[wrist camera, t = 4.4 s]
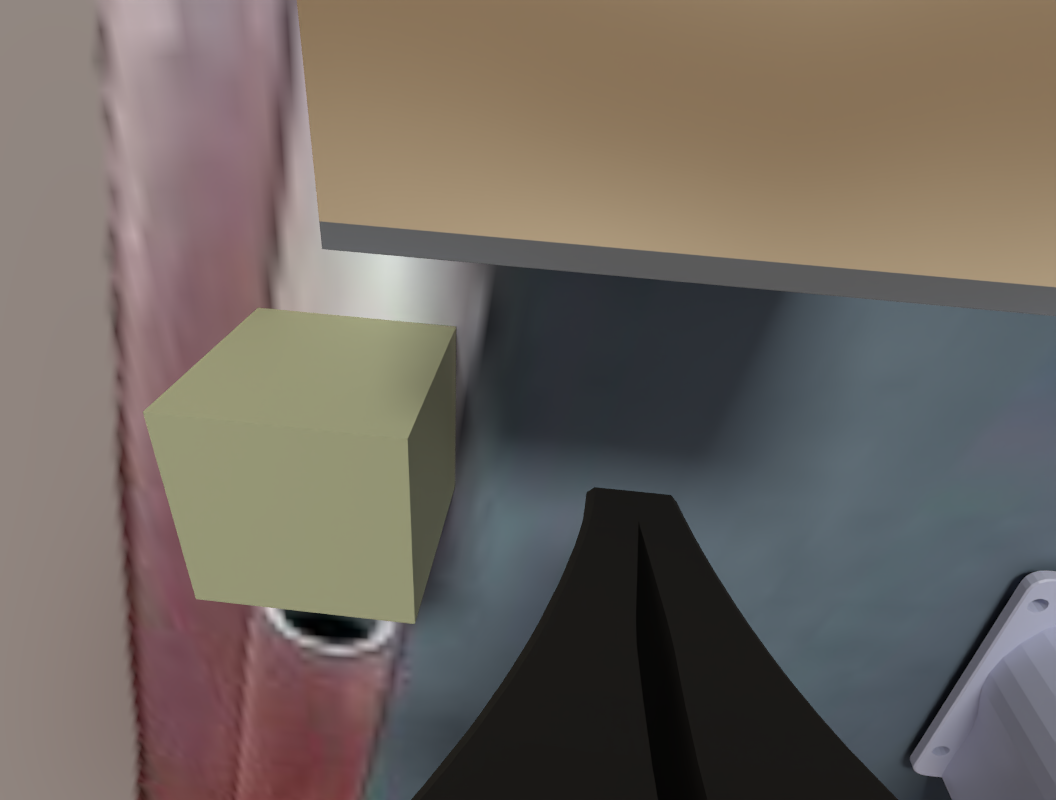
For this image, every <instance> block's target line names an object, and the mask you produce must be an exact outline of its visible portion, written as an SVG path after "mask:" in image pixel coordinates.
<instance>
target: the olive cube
mask: <svg viewBox="0 0 1056 800" xmlns="http://www.w3.org/2000/svg"><path fill="white" fill-rule="evenodd" d="M143 414H144V417H145V421H146V424H147V428H148V431H149V435H150V439H151V442H152V446H153V449H154V453H155V456H156V460H157V463H158V467H159V470H160V474H161V477H162V481H163V484H164V488H165V491H166V495H167V498H168V502H169V505H170V509H171V513H172V516H173V520H174V523H175V527H176V530H177V534H178V537H179V541H180V544H181V548H182V551H183V555H184V558H185V562H186V565H187V569H188V572H189V576H190V579H191V583H192V587H193V590H194V594H195V597H196V599H201V600H210V601H218V602H227V603H236V604H245V605H253V606H262V607H271V608H280V609H288V610H297V611H306V612H315V613H323V614H332V615H341V616H350V617H358V618H367V619H376V620H385V621H393V622H402V623H411V624H415V622H416V618H417V615H418V612H419V608H420V605H421V601H422V598H423V594H424V591H425V588H426V584H427V581H428V577H429V574H430V570H431V567H432V564H433V560H434V557H435V553H436V550H437V546H438V543H439V540H440V536H441V533H442V529H443V526H444V522H445V519H446V515H447V512H448V509H449V505H450V502H451V498H452V495H453V491H454V488H455V414H456V327H454V326H444V325H433V324H423V323H412V322H402V321H391V320H381V319H370V318H360V317H349V316H339V315H328V314H318V313H307V312H297V311H286V310H276V309H265V308H257V309H256V310H255V311H254V312H253V313H252V314H251V315H249V316H248V317H247V318H246V319H245V320H244V321H243V322H242V323H241V324H239V325H238V326H237V327H236V328H235V329H234V330H233V331H232V332H231V333H230V334H228V335H227V336H226V337H225V338H224V339H223V340H222V341H221V342H220V343H218V344H217V345H216V346H215V347H214V348H213V349H212V350H211V351H210V352H209V353H207V354H206V355H205V356H204V357H203V358H202V359H201V360H200V361H199V362H197V363H196V364H195V365H194V366H193V367H192V368H191V369H190V370H189V371H188V372H186V373H185V374H184V375H183V376H182V377H181V378H180V379H179V380H178V381H176V382H175V383H174V384H173V385H172V386H171V387H170V388H169V389H168V390H167V391H165V392H164V393H163V394H162V395H161V396H160V397H159V398H158V399H157V400H156V401H154V402H153V403H152V404H151V405H150V406H149V407H148V408H147V409H146V410H144V411H143Z"/></svg>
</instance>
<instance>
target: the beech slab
mask: <svg viewBox="0 0 1056 800" xmlns="http://www.w3.org/2000/svg"><path fill="white" fill-rule="evenodd" d="M297 6H298V16H299V26H300V36H301V45H302V55H303V65H304V75H305V84H306V94H307V104H308V114H309V124H310V133H311V143H312V153H313V163H314V173H315V182H316V192H317V202H318V212H319V221H320V231H321V241H322V249H328V250H339V251H350V252H361V253H372V254H383V255H394V256H405V257H416V258H427V259H438V260H448V261H459V262H470V263H481V264H492V265H503V266H514V267H525V268H536V269H547V270H558V271H569V272H580V273H590V274H601V275H612V276H623V277H634V278H645V279H656V280H667V281H678V282H689V283H700V284H711V285H722V286H733V287H743V288H754V289H765V290H776V291H787V292H798V293H809V294H820V295H831V296H842V297H853V298H864V299H875V300H885V301H896V302H907V303H918V304H929V305H940V306H951V307H962V308H973V309H984V310H995V311H1006V312H1017V313H1028V314H1038V315H1049V316H1056V0H297Z"/></svg>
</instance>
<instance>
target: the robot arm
mask: <svg viewBox="0 0 1056 800" xmlns="http://www.w3.org/2000/svg"><path fill="white" fill-rule="evenodd" d="M910 762H911V764H912V767H913V769H914V771H915V772H917V773H918V774H921V775H926V776H934V777H942V779H943V781H944V783H945V786H946V788H947V790H948V792H949V795H950V797H951V799H952V800H1056V571H1036V572H1033V573H1030V574H1029V575H1027V576H1025V577H1024V578H1023V580H1022V581H1021V582H1020V584H1019V585H1018V587H1017V588H1016V590H1015V592H1014V593H1013V595H1012V596H1011V598H1010V599H1009V601H1008V603H1007V604H1006V606H1005V607H1004V609H1003V611H1002V612H1001V614H1000V615H999V617H998V618H997V620H996V622H995V623H994V625H993V626H992V628H991V630H990V631H989V633H988V634H987V636H986V637H985V639H984V641H983V642H982V644H981V645H980V647H979V649H978V650H977V652H976V653H975V655H974V656H973V658H972V660H971V661H970V663H969V664H968V666H967V667H966V669H965V671H964V672H963V674H962V675H961V677H960V679H959V680H958V682H957V683H956V685H955V686H954V688H953V690H952V691H951V693H950V694H949V696H948V698H947V699H946V701H945V702H944V704H943V705H942V707H941V709H940V710H939V712H938V713H937V715H936V717H935V718H934V720H933V721H932V723H931V724H930V726H929V728H928V729H927V731H926V732H925V734H924V736H923V737H922V739H921V740H920V742H919V743H918V745H917V747H916V748H915V750H914V751H913V753H912V755H911V756H910ZM411 800H898V799H897V798H896V797H895V796H894V795H893V794H892V793H891V792H890V791H889V790H888V789H887V788H886V787H885V786H884V785H883V784H882V783H881V782H880V781H879V780H878V778H877V777H876V776H875V775H874V774H873V773H872V772H871V771H870V770H869V769H868V768H867V767H866V766H865V765H864V764H863V763H862V762H861V761H860V760H859V759H858V758H857V757H856V756H855V755H854V754H853V753H852V752H851V751H850V750H849V749H848V748H847V746H846V745H845V744H844V743H843V742H842V741H841V740H840V738H839V737H838V736H837V735H836V734H835V733H834V732H833V731H832V729H831V728H830V727H829V726H828V725H827V724H826V723H825V721H824V720H823V719H822V718H821V717H820V716H819V715H818V714H817V712H816V711H815V710H814V709H813V707H812V706H811V705H810V704H809V703H808V701H807V700H806V699H805V698H804V697H803V695H802V694H801V693H800V692H799V691H798V689H797V688H796V687H795V686H794V684H793V683H792V682H791V681H790V679H789V678H788V677H787V676H786V674H785V673H784V672H783V670H782V669H781V668H780V667H779V665H778V664H777V663H776V661H775V660H774V659H773V657H772V656H771V655H770V653H769V652H768V651H767V649H766V648H765V646H764V645H763V644H762V642H761V641H760V639H759V638H758V637H757V635H756V634H755V632H754V631H753V630H752V628H751V627H750V625H749V624H748V623H747V621H746V620H745V618H744V617H743V615H742V614H741V612H740V611H739V609H738V608H737V606H736V605H735V603H734V602H733V600H732V598H731V597H730V595H729V594H728V592H727V591H726V589H725V587H724V586H723V584H722V583H721V581H720V580H719V578H718V576H717V575H716V573H715V572H714V570H713V568H712V567H711V565H710V563H709V562H708V560H707V558H706V556H705V555H704V553H703V551H702V549H701V548H700V546H699V544H698V542H697V541H696V539H695V537H694V535H693V533H692V531H691V530H690V528H689V526H688V524H687V522H686V520H685V518H684V516H683V514H682V512H681V510H680V508H679V506H678V504H677V502H676V501H675V500H674V498H673V497H672V496H671V495H664V494H654V493H644V492H635V491H625V490H615V489H605V488H596V487H595V488H593V489H591V490H590V491H588V492H587V495H586V502H585V510H584V517H583V522H582V525H581V529H580V532H579V535H578V538H577V541H576V544H575V546H574V549H573V551H572V554H571V556H570V559H569V561H568V563H567V566H566V568H565V571H564V573H563V575H562V578H561V580H560V582H559V584H558V586H557V588H556V590H555V592H554V594H553V596H552V598H551V600H550V602H549V604H548V606H547V608H546V610H545V612H544V614H543V616H542V618H541V619H540V621H539V623H538V625H537V627H536V629H535V630H534V632H533V634H532V635H531V637H530V639H529V641H528V642H527V644H526V646H525V647H524V649H523V651H522V652H521V654H520V656H519V657H518V659H517V660H516V662H515V663H514V665H513V667H512V668H511V670H510V671H509V673H508V674H507V676H506V677H505V679H504V680H503V682H502V683H501V685H500V686H499V688H498V689H497V691H496V692H495V693H494V695H493V696H492V698H491V699H490V701H489V702H488V704H487V705H486V706H485V708H484V709H483V711H482V712H481V713H480V715H479V716H478V718H477V719H476V720H475V722H474V723H473V724H472V726H471V727H470V728H469V730H468V731H467V732H466V734H465V735H464V736H463V737H462V739H461V740H460V741H459V742H458V744H457V745H456V746H455V747H454V749H453V750H452V751H451V752H450V753H449V755H448V756H447V757H446V758H445V760H444V761H443V762H442V763H441V765H440V766H439V767H438V768H437V770H436V771H435V772H434V773H433V774H432V776H431V777H430V778H429V779H428V781H427V782H426V783H425V784H424V786H423V787H422V788H421V789H420V790H419V791H418V793H417V794H416V795H415V796H414V797H413V798H412V799H411Z"/></svg>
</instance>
